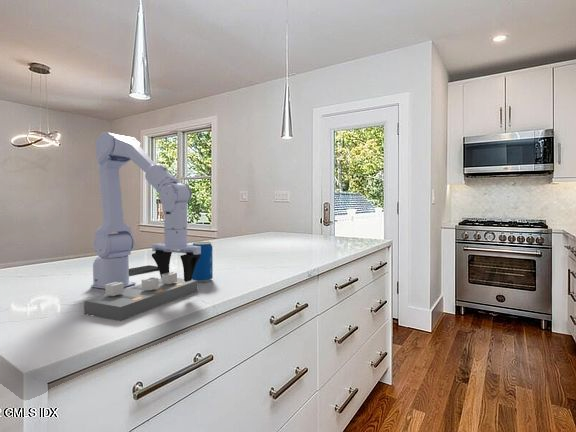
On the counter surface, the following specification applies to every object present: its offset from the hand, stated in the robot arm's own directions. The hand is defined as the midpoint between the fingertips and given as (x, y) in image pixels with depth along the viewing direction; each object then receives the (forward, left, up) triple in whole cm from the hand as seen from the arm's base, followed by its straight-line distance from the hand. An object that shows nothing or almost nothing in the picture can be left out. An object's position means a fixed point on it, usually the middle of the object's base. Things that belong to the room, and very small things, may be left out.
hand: (176, 279), depth 92 cm
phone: (-33, +19, -5) cm, 39 cm away
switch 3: (-2, 0, -1) cm, 3 cm away
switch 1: (-6, -14, -1) cm, 15 cm away
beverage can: (-4, +17, -4) cm, 18 cm away
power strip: (-3, -4, -4) cm, 7 cm away
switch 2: (-2, -7, -1) cm, 7 cm away
